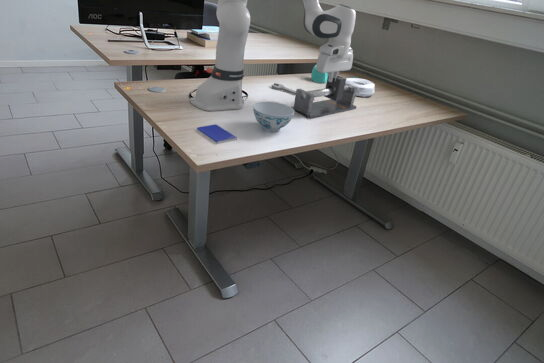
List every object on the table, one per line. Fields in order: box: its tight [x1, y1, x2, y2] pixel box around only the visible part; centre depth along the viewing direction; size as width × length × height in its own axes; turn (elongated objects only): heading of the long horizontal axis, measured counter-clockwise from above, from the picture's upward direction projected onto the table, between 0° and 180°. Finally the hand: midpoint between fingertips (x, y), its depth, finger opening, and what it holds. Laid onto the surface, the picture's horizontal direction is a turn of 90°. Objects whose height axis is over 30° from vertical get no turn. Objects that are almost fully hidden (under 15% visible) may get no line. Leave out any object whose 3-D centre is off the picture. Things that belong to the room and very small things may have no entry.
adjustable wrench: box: [271, 82, 316, 102], centre depth 182 cm, size 25×6×2 cm, turn 46°
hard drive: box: [196, 123, 238, 145], centre depth 128 cm, size 2×8×12 cm
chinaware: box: [252, 100, 295, 133], centre depth 138 cm, size 15×15×8 cm
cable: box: [345, 77, 376, 98], centre depth 198 cm, size 18×18×6 cm
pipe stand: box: [290, 83, 357, 120], centre depth 166 cm, size 32×12×10 cm, turn 133°
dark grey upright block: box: [323, 75, 347, 101], centre depth 166 cm, size 4×7×10 cm, turn 43°
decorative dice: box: [310, 64, 328, 84], centre depth 208 cm, size 8×8×8 cm
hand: (331, 81), depth 162 cm, fingers closed
